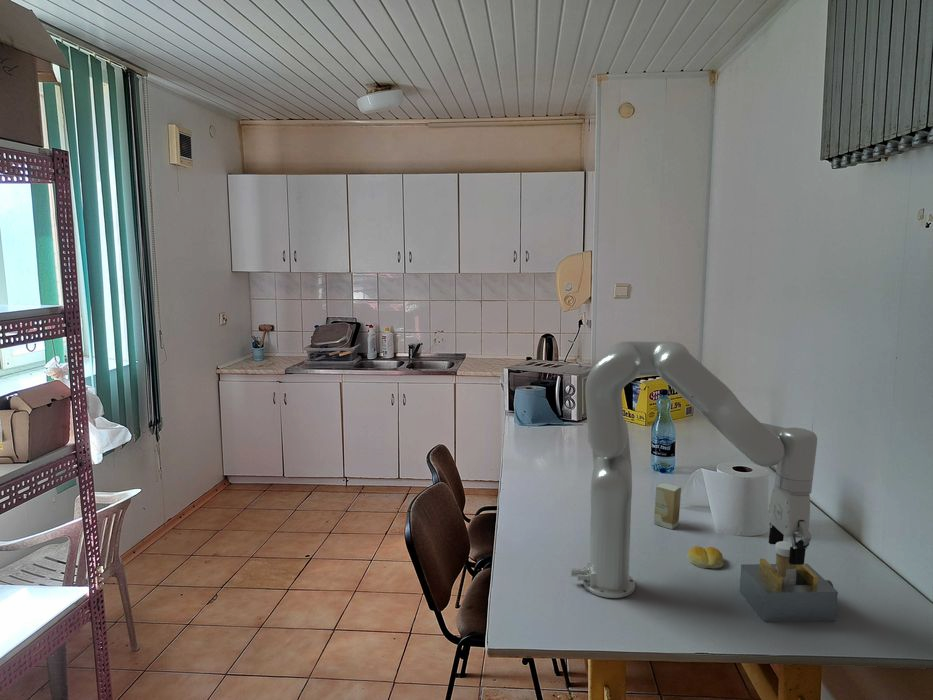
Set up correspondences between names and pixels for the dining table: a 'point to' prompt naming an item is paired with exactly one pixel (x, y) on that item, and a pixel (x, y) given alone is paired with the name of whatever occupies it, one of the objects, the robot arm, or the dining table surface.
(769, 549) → the dining table surface
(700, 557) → the bread roll
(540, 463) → the dining table surface
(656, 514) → the skincare box
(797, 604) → the grey holder box
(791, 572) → the sprinkles bottle
